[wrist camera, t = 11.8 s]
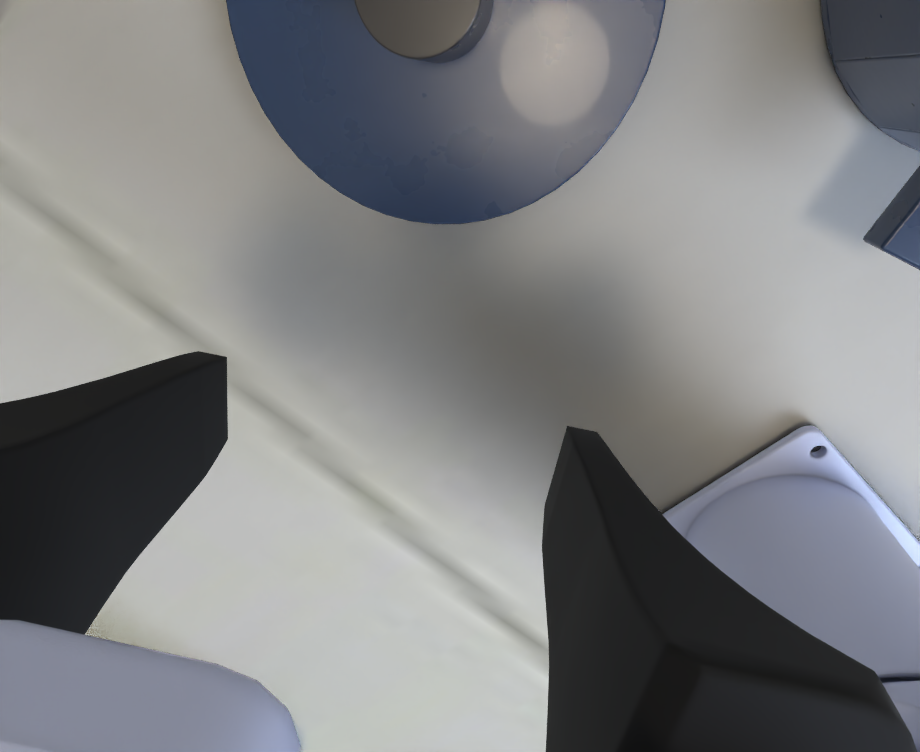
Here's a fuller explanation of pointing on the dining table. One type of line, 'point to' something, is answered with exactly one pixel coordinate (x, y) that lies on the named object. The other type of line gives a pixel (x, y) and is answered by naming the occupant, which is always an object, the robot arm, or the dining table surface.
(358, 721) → the dining table surface
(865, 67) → the pot
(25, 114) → the dining table surface
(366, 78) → the lid
